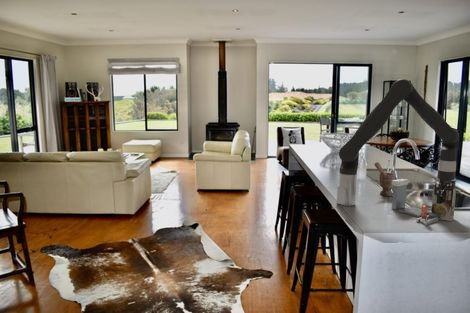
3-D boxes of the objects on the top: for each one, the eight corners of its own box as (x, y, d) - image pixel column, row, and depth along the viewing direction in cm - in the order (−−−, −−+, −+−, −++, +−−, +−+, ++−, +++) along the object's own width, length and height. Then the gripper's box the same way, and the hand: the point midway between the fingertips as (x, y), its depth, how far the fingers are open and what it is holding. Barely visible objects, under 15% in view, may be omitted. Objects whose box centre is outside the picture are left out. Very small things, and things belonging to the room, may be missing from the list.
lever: (424, 223, 179) (425, 206, 178) (419, 221, 182) (420, 205, 180) (427, 222, 181) (428, 206, 179) (422, 221, 183) (423, 204, 181)
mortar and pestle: (378, 197, 224) (380, 164, 221) (370, 193, 233) (373, 161, 230) (396, 196, 226) (398, 163, 223) (388, 192, 235) (390, 161, 231)
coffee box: (454, 218, 187) (457, 186, 184) (450, 221, 182) (454, 189, 180) (433, 214, 193) (436, 183, 190) (430, 217, 188) (433, 185, 186)
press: (425, 224, 178) (428, 192, 175) (380, 210, 199) (382, 182, 196) (446, 218, 187) (449, 187, 185) (401, 205, 208) (403, 178, 205)
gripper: (446, 172, 177) (442, 206, 179) (462, 169, 184) (459, 202, 187) (430, 169, 183) (427, 202, 186) (447, 166, 190) (444, 198, 193)
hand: (443, 202), depth 186 cm, fingers closed on coffee box, 7 cm apart
